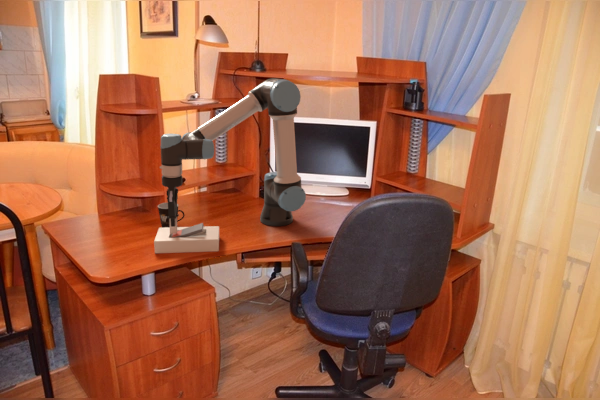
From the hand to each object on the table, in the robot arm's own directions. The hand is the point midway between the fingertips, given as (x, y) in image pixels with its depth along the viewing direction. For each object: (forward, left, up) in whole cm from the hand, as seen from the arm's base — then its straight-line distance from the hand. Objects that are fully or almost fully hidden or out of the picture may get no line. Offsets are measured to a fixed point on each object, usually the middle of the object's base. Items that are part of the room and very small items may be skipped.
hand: (173, 232), depth 175 cm
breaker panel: (-6, 0, -5) cm, 8 cm away
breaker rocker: (-6, 0, 0) cm, 6 cm away
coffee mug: (+3, -19, -6) cm, 20 cm away
